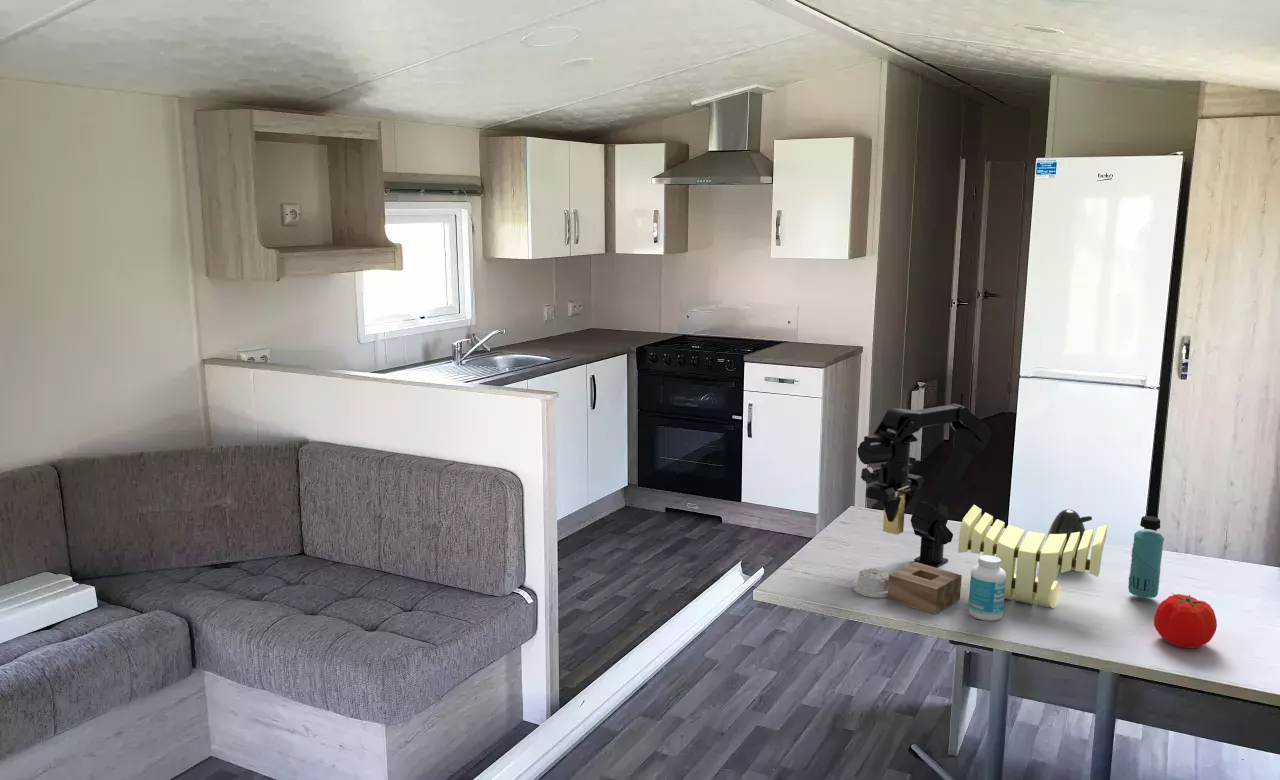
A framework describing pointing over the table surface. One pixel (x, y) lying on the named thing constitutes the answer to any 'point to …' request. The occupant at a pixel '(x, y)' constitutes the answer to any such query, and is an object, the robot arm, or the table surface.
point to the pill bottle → (987, 589)
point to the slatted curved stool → (1031, 555)
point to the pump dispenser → (1068, 526)
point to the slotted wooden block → (924, 587)
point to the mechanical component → (872, 583)
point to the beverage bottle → (1146, 559)
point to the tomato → (1185, 621)
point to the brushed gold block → (896, 518)
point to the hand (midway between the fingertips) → (893, 520)
